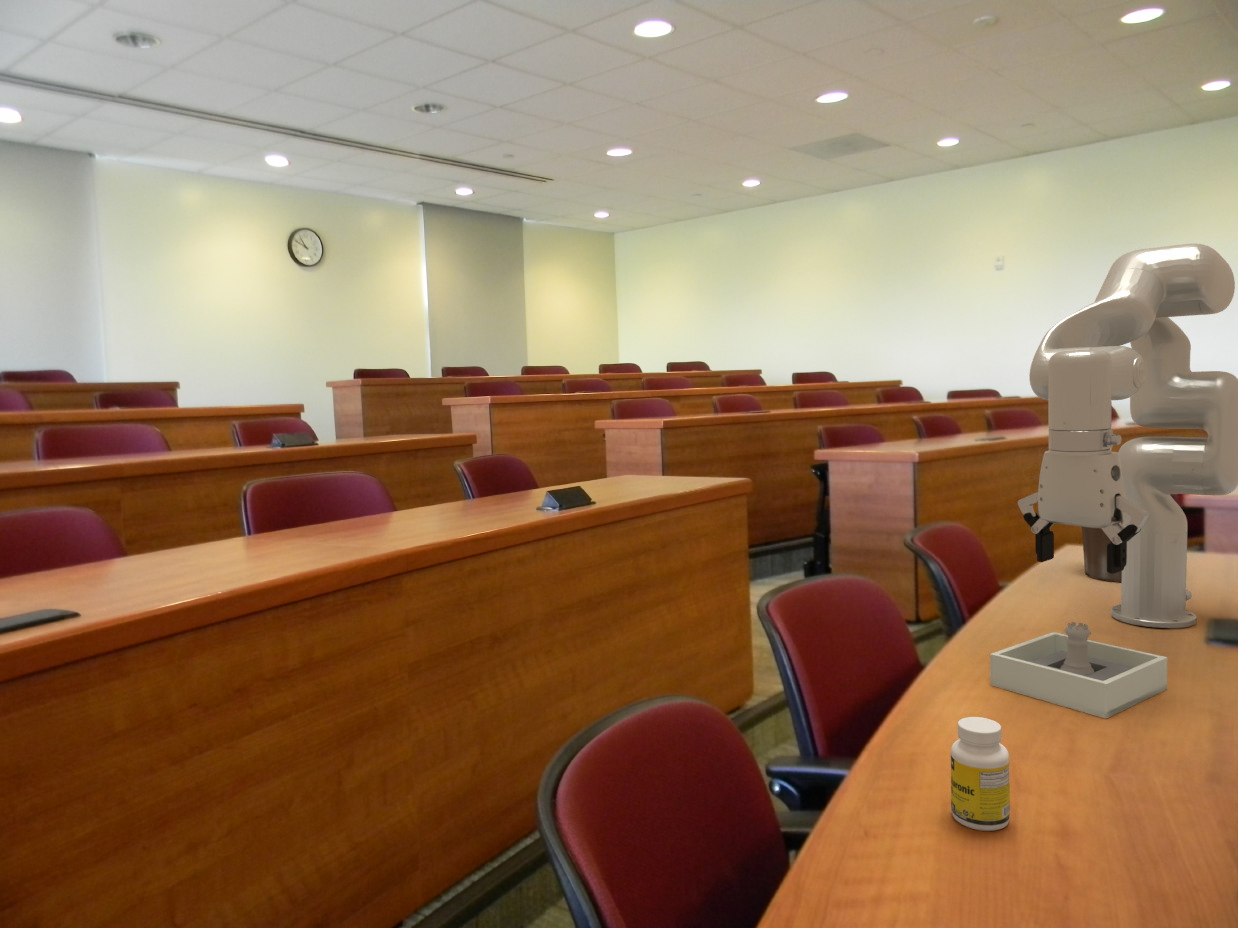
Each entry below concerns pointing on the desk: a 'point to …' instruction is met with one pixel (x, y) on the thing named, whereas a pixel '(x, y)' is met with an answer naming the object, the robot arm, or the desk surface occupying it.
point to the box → (1079, 675)
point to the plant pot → (1097, 554)
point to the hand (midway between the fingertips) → (1079, 565)
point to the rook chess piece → (1077, 649)
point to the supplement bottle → (980, 775)
